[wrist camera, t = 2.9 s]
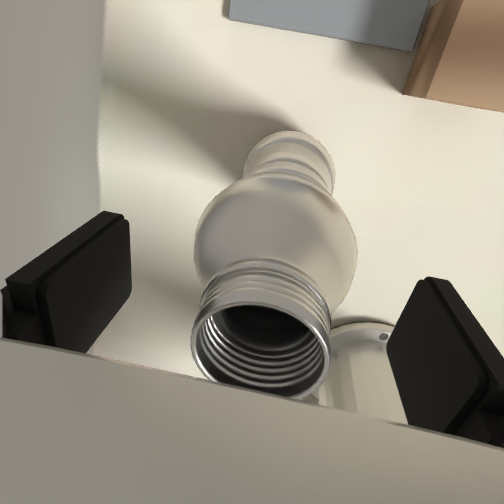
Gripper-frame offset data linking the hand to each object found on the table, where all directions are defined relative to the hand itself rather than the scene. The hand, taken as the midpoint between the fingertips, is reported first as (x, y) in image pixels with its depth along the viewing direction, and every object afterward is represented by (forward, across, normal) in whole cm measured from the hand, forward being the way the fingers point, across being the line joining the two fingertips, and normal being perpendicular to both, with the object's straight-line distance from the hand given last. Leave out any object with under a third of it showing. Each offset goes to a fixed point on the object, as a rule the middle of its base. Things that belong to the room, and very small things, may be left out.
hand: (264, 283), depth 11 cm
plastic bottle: (+17, 0, +1) cm, 17 cm away
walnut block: (+17, -9, -8) cm, 21 cm away
